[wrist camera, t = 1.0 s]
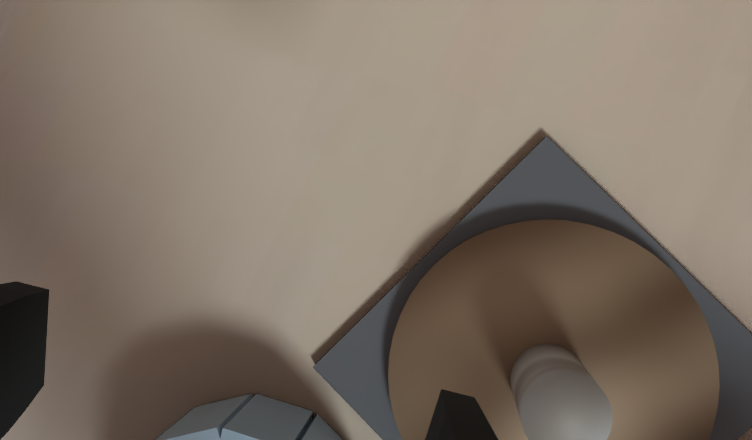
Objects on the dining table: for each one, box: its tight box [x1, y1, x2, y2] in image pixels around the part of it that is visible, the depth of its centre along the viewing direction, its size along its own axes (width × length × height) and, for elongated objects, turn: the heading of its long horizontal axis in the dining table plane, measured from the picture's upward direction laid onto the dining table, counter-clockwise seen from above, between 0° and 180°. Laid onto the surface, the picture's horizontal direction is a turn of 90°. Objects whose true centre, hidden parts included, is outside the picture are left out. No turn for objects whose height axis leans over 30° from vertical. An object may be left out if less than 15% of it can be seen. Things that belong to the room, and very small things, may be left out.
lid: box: [388, 219, 720, 440], centre depth 23 cm, size 13×13×5 cm
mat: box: [313, 136, 752, 440], centre depth 25 cm, size 14×14×1 cm
